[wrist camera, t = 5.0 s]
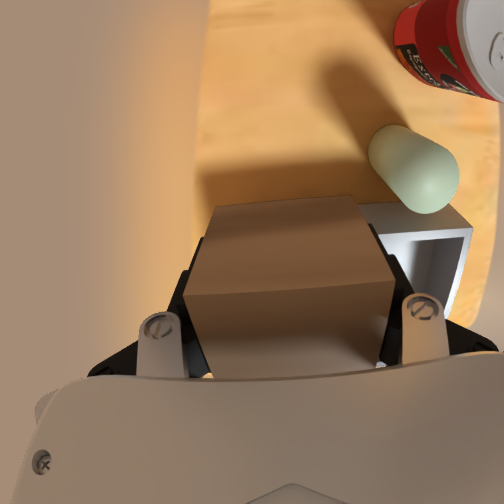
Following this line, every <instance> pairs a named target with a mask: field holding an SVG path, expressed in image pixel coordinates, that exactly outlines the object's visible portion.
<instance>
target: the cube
mask: <svg viewBox="0 0 504 504" xmlns="http://www.w3.org/2000/svg"><path fill="white" fill-rule="evenodd" d="M394 286H395V278H394V276H393V274H392V271H391V269H390V267H389V265H388V263H387V261H386V259H385V257H384V255H383V253H382V251H381V249H380V247H379V245H378V243H377V241H376V239H375V237H374V236H373V234H372V232H371V230H370V228H369V226H368V224H367V222H366V221H365V219H364V217H363V215H362V213H361V211H360V210H359V208H358V206H357V204H356V203H355V201H354V199H353V197H352V196H351V195H349V196H332V197H318V198H304V199H291V200H279V201H268V202H257V203H247V204H237V205H227V206H218V207H216V208H215V210H214V213H213V215H212V218H211V221H210V223H209V226H208V228H207V231H206V234H205V236H204V239H203V241H202V244H201V247H200V249H199V252H198V255H197V257H196V260H195V263H194V266H193V268H192V271H191V274H190V277H189V279H188V282H187V285H186V288H185V290H184V293H183V298H184V301H185V304H186V307H187V309H188V312H189V315H190V318H191V321H192V323H193V326H194V329H195V331H196V334H197V337H198V339H199V342H200V345H201V347H202V350H203V353H204V355H205V358H206V360H207V363H208V365H209V368H210V370H211V373H212V375H213V378H271V377H291V376H306V375H319V374H330V373H340V372H349V371H358V370H366V369H373V368H376V365H377V361H378V357H379V354H380V350H381V346H382V342H383V338H384V334H385V329H386V325H387V321H388V316H389V311H390V307H391V302H392V297H393V291H394Z"/></svg>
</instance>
